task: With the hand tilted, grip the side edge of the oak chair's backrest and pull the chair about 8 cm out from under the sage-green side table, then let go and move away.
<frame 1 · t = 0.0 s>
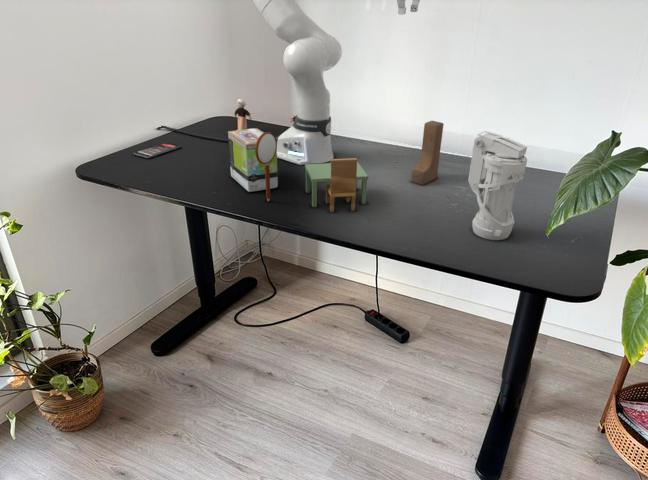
hand: (407, 13, 153), 48 cm above the table, tool pointing down, fingers open, 8 cm apart
grey mechanical canister: (486, 230, 144), on the table
smartphone: (157, 151, 188), on the table
magnifying glass: (268, 201, 155), on the table
tea box: (254, 182, 167), on the table
chair: (340, 206, 154), on the table
side table: (335, 197, 159), on the table
wooden block: (423, 180, 174), on the table
grandmother figurine: (243, 132, 212), on the table
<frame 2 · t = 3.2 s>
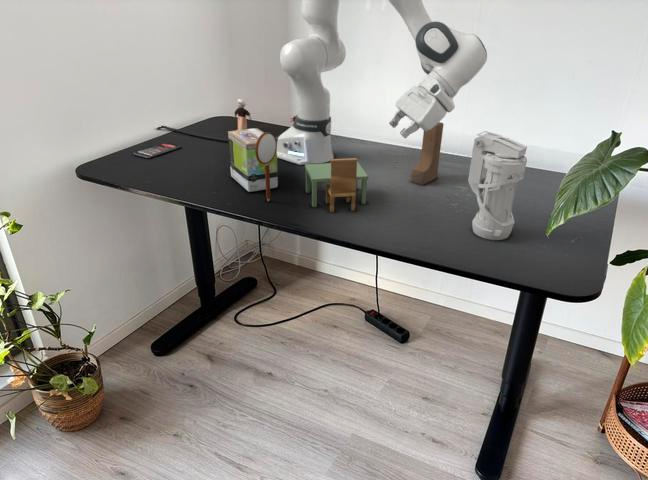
hand: (396, 130, 143), 22 cm above the table, tool tilted 45°, fingers open, 8 cm apart
nothing on the table moved.
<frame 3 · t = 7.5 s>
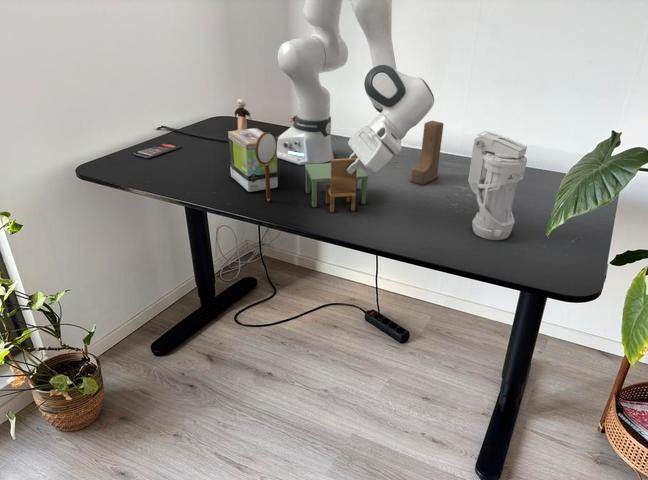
hand: (346, 170, 145), 12 cm above the table, tool tilted 45°, fingers closed on chair
chair: (340, 206, 154), on the table, touching gripper
everything else where it was.
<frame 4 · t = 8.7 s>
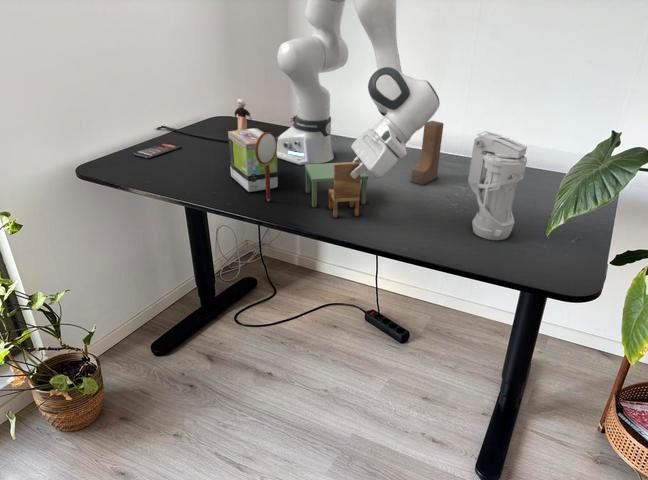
hand: (350, 174, 142), 12 cm above the table, tool tilted 45°, fingers closed on chair
chair: (343, 211, 151), on the table, touching gripper
everything else where it was.
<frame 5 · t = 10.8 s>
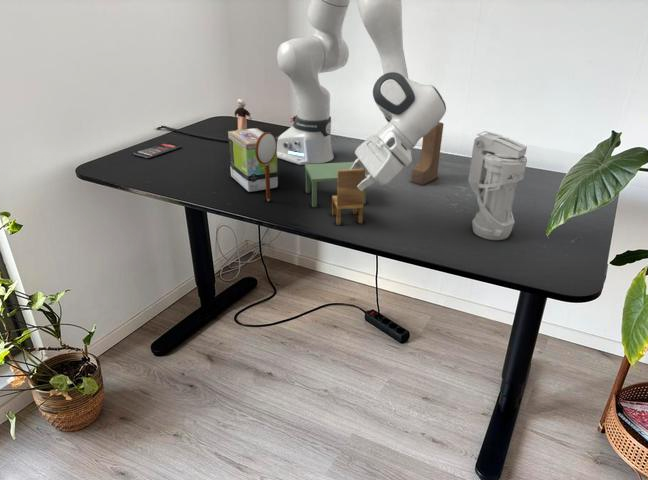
hand: (354, 181, 139), 12 cm above the table, tool tilted 45°, fingers open, 8 cm apart
chair: (346, 218, 147), on the table
everything else where it was.
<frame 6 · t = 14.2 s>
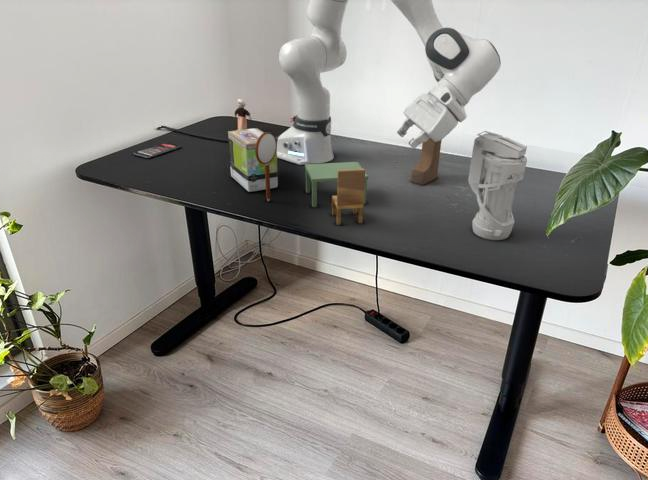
hand: (404, 140, 136), 22 cm above the table, tool tilted 45°, fingers open, 8 cm apart
nothing on the table moved.
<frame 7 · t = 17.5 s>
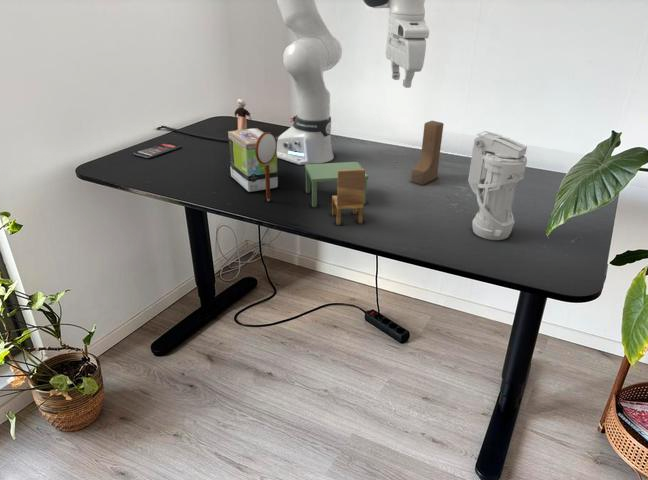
hand: (401, 83, 142), 33 cm above the table, tool pointing down, fingers open, 8 cm apart
nothing on the table moved.
at the end: chair 0.5 cm from the target spot, on the table; chair tilted 0°; the gripper is holding nothing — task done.
